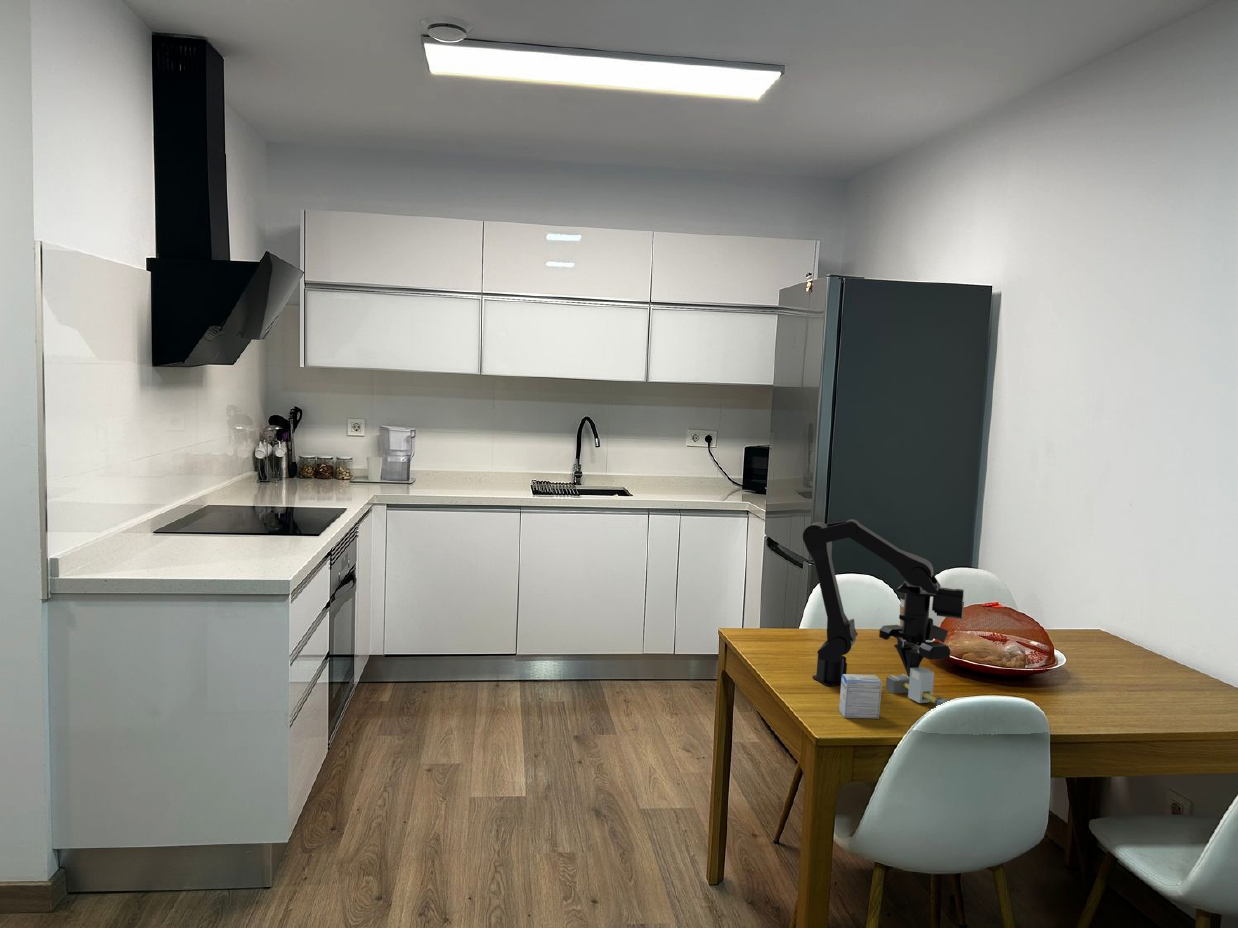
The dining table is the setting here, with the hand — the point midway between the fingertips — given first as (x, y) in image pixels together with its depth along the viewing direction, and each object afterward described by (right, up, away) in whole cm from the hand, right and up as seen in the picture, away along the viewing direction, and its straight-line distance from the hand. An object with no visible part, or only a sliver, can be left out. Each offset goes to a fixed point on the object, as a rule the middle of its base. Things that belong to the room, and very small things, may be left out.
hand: (910, 676), depth 219 cm
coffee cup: (+15, -1, +48) cm, 50 cm away
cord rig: (+1, -5, -3) cm, 6 cm away
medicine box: (-16, -6, -14) cm, 22 cm away
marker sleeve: (+1, -5, -3) cm, 6 cm away
